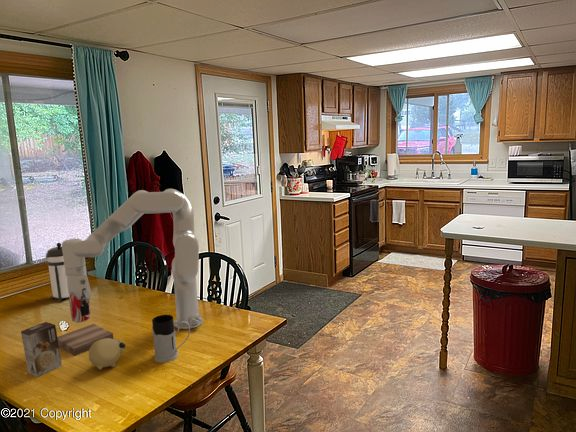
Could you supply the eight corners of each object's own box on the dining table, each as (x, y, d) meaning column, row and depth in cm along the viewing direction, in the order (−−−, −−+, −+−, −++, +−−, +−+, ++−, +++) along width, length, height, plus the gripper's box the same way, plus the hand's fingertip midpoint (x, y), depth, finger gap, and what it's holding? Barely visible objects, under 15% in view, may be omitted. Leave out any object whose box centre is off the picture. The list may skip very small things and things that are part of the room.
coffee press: (74, 302, 220) (67, 245, 214) (44, 303, 220) (35, 246, 215) (90, 290, 237) (83, 238, 231) (62, 291, 237) (54, 238, 232)
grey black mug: (158, 350, 164) (155, 314, 161) (195, 350, 163) (192, 313, 161) (150, 362, 155) (146, 324, 153) (189, 361, 155) (185, 323, 152)
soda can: (83, 324, 168) (80, 295, 166) (67, 323, 169) (64, 294, 167) (94, 316, 175) (91, 289, 173) (79, 316, 176) (76, 288, 174)
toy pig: (130, 363, 156) (127, 335, 154) (98, 377, 147) (94, 348, 145) (117, 355, 162) (114, 328, 160) (86, 368, 153) (82, 340, 151)
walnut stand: (113, 339, 175) (112, 333, 174) (74, 355, 163) (73, 348, 162) (94, 330, 185) (93, 323, 184) (56, 344, 172) (55, 337, 172)
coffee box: (52, 361, 159) (46, 321, 156) (62, 365, 156) (56, 324, 153) (27, 373, 151) (20, 330, 149) (36, 377, 148) (30, 334, 145)
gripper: (95, 271, 166) (100, 314, 169) (75, 264, 177) (80, 305, 180) (76, 276, 160) (81, 321, 163) (56, 269, 171) (61, 310, 174)
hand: (80, 312), depth 171 cm, fingers closed on soda can, 6 cm apart
